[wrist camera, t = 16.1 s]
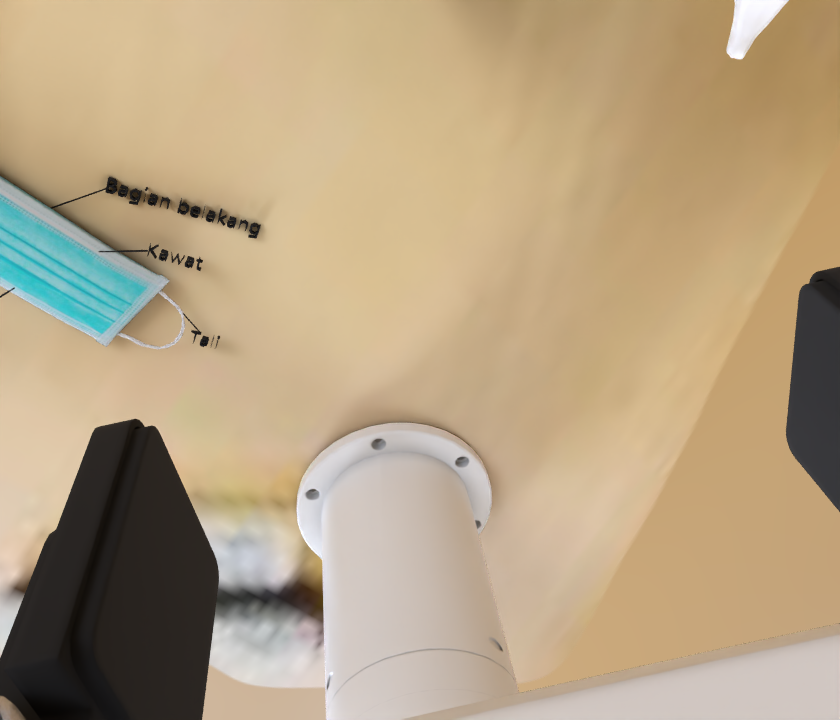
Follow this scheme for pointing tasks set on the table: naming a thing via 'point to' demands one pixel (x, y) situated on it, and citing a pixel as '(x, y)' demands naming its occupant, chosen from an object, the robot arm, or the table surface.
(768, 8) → the dinosaur statue
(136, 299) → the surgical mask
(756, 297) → the table surface
